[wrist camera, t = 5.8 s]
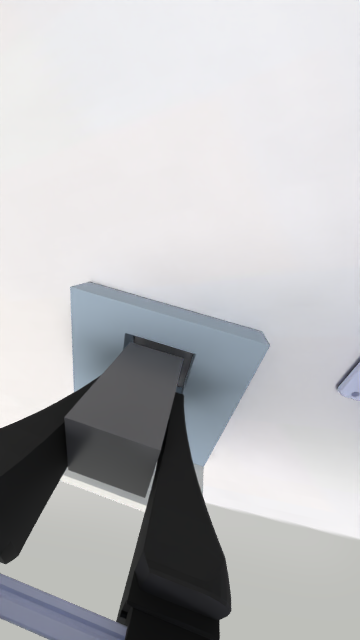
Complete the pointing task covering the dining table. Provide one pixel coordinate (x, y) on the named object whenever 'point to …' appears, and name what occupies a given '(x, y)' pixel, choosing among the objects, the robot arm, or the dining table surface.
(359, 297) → the dining table surface
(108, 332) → the outlet plate
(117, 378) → the plug
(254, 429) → the dining table surface
